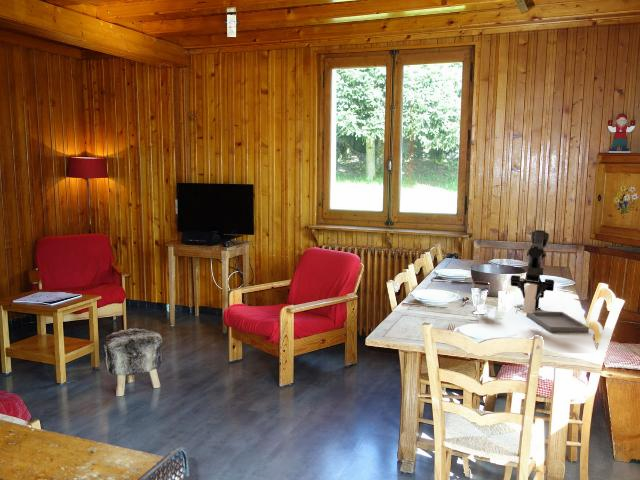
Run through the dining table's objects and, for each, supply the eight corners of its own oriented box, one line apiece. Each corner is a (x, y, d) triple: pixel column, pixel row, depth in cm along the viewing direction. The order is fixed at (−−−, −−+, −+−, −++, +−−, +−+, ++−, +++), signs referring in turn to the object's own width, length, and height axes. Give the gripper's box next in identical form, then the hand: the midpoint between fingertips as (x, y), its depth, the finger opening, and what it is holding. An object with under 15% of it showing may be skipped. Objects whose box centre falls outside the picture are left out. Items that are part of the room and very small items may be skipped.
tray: (526, 316, 278) (526, 311, 278) (561, 316, 280) (562, 311, 279) (549, 332, 255) (550, 327, 254) (588, 332, 256) (588, 327, 256)
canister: (520, 310, 264) (523, 282, 262) (531, 309, 264) (533, 282, 262) (526, 313, 259) (529, 285, 257) (536, 313, 260) (539, 285, 257)
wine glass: (486, 316, 276) (489, 285, 274) (469, 313, 279) (472, 283, 276) (488, 311, 283) (490, 282, 281) (471, 309, 286) (474, 280, 284)
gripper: (513, 258, 265) (508, 286, 257) (556, 262, 258) (552, 291, 250) (513, 271, 273) (508, 299, 265) (555, 276, 266) (551, 304, 258)
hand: (529, 298), depth 259 cm, fingers closed on canister, 5 cm apart
